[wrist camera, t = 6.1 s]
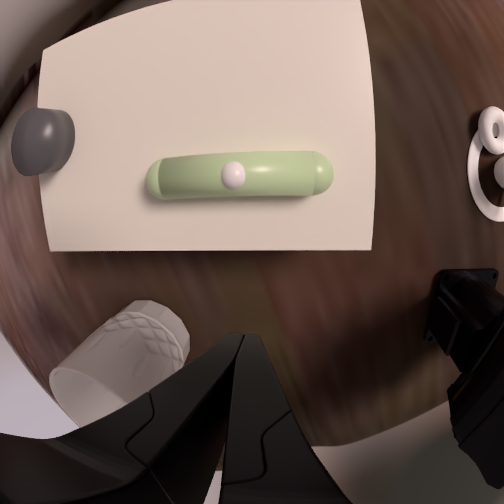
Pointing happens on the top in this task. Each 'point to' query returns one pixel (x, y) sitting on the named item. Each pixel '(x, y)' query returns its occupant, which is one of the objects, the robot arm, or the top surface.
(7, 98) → the top surface
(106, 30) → the instrument plate
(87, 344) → the white cup
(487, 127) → the teacup and saucer
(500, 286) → the top surface
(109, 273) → the top surface
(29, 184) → the top surface
